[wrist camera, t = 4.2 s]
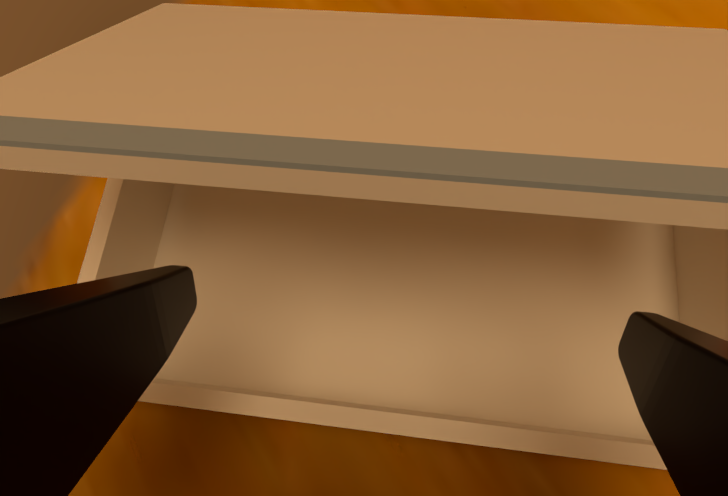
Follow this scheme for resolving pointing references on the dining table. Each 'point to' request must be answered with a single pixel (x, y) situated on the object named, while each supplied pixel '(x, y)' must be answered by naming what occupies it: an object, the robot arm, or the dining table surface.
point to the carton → (412, 312)
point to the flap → (389, 110)
